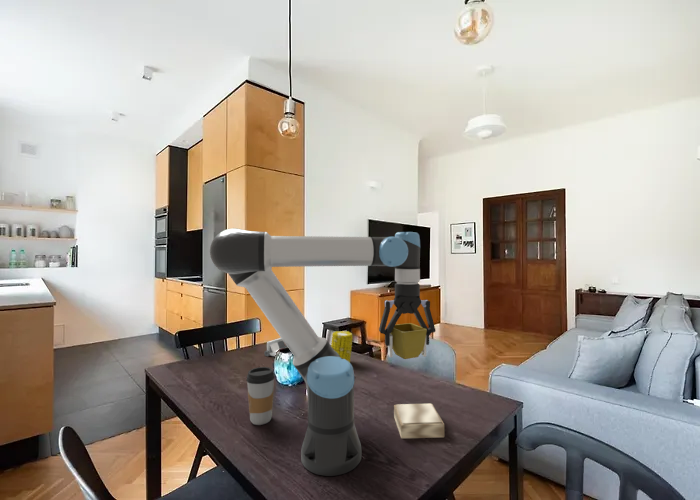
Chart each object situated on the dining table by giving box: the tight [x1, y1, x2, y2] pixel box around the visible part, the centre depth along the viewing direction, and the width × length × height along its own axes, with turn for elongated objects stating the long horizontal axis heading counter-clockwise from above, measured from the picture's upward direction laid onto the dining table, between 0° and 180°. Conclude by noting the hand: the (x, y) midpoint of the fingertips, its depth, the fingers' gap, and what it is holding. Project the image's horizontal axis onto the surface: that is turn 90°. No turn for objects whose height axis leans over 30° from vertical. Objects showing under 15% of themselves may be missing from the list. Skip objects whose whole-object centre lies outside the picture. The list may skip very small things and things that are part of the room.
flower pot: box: [390, 322, 427, 360], centre depth 103 cm, size 9×9×9 cm
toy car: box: [263, 337, 287, 357], centre depth 164 cm, size 18×10×12 cm
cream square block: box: [393, 403, 445, 439], centre depth 99 cm, size 12×12×4 cm
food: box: [330, 330, 354, 363], centre depth 153 cm, size 15×12×10 cm
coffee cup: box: [246, 366, 275, 426], centre depth 103 cm, size 8×8×15 cm
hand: (407, 355), depth 103 cm, fingers closed on flower pot, 10 cm apart
